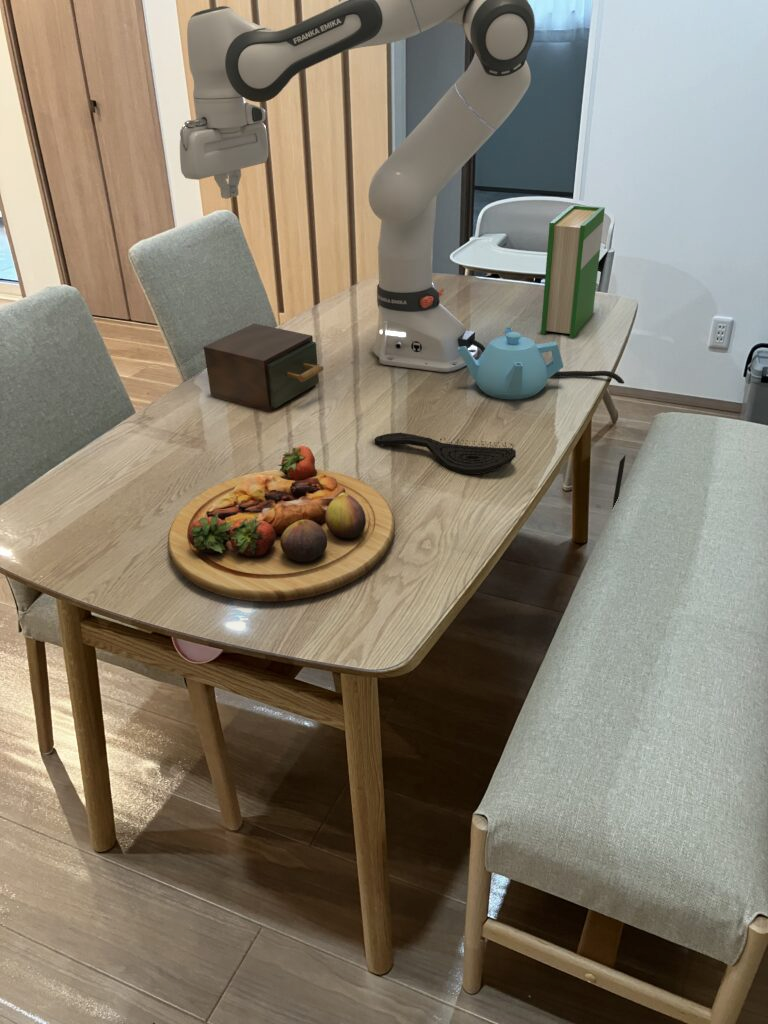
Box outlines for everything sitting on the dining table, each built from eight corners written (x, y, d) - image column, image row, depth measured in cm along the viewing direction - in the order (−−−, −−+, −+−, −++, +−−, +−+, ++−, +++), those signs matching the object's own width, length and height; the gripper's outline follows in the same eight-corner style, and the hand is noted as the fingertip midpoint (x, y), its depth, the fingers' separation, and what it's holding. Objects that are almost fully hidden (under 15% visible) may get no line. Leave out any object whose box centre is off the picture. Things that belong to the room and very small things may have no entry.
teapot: (514, 411, 151) (518, 355, 145) (454, 388, 160) (455, 334, 155) (565, 387, 159) (571, 333, 154) (505, 366, 169) (508, 315, 163)
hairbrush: (385, 417, 144) (523, 437, 133) (387, 436, 146) (523, 458, 135) (362, 437, 138) (505, 460, 127) (364, 457, 140) (505, 481, 129)
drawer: (336, 386, 160) (333, 345, 156) (293, 412, 151) (289, 370, 146) (265, 369, 169) (261, 330, 164) (221, 393, 159) (215, 352, 155)
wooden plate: (244, 466, 136) (238, 421, 132) (426, 501, 125) (426, 452, 121) (122, 575, 111) (109, 523, 107) (336, 630, 100) (332, 575, 96)
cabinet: (316, 384, 164) (312, 335, 158) (269, 412, 153) (263, 360, 148) (259, 370, 171) (254, 323, 165) (210, 396, 160) (203, 346, 155)
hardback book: (573, 338, 181) (585, 225, 168) (540, 333, 184) (549, 222, 171) (592, 313, 195) (604, 207, 182) (562, 309, 197) (571, 204, 185)
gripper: (193, 123, 137) (204, 210, 144) (270, 109, 151) (277, 188, 159) (165, 121, 140) (177, 206, 147) (244, 107, 154) (251, 185, 162)
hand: (230, 197), depth 153 cm, fingers closed
